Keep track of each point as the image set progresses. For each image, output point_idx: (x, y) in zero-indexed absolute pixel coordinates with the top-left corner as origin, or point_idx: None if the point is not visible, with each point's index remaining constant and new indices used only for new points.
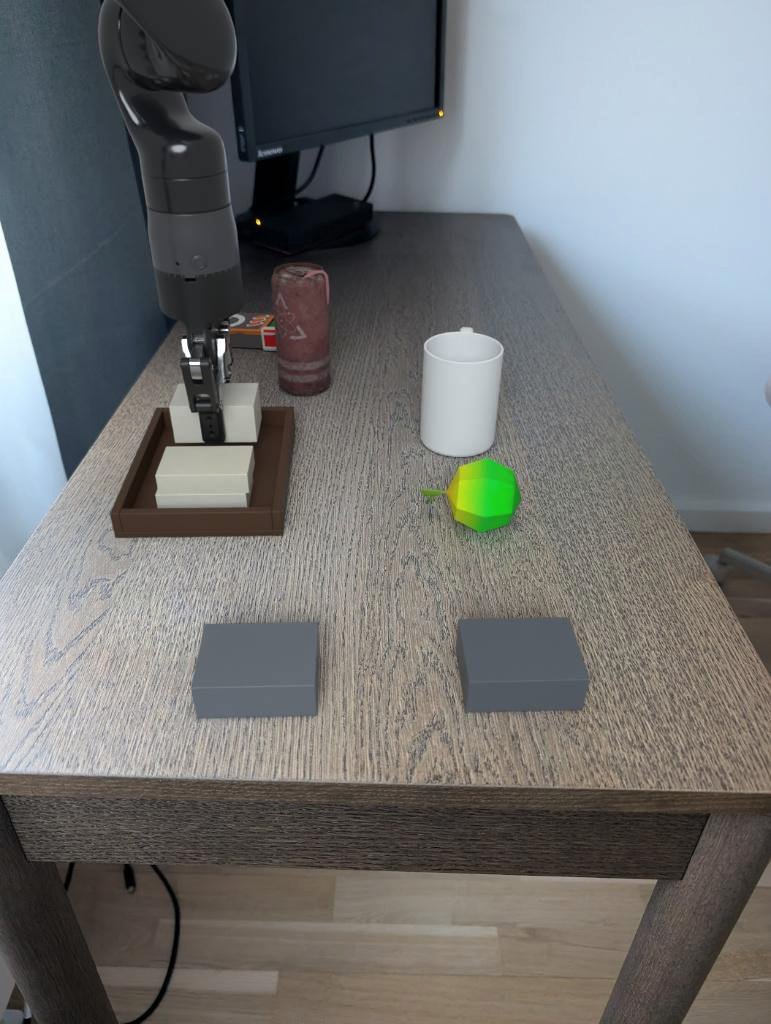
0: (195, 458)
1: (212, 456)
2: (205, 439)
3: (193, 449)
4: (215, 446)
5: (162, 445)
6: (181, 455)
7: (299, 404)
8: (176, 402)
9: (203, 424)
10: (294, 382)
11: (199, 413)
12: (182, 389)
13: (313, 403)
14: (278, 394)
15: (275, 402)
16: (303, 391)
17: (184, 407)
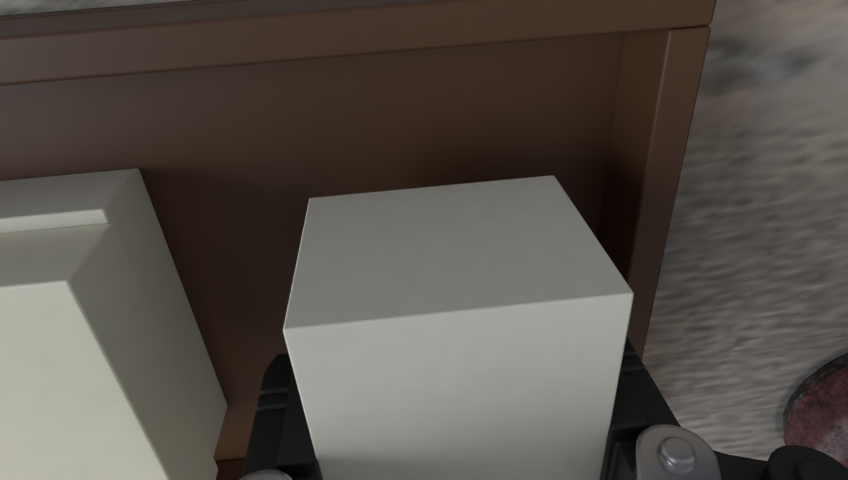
0: (17, 415)
1: (63, 461)
2: (273, 360)
3: (91, 391)
4: (151, 451)
5: (448, 48)
6: (13, 363)
7: (736, 402)
8: (348, 353)
9: (253, 427)
10: (826, 430)
11: (281, 446)
12: (540, 336)
13: (731, 430)
14: (828, 342)
15: (771, 344)
16: (790, 424)
17: (301, 396)
